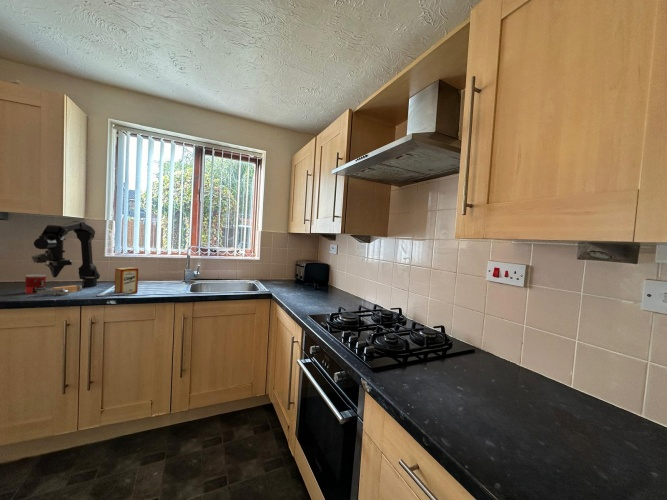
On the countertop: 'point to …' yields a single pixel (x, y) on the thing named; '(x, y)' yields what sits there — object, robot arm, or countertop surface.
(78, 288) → the tool board
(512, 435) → the countertop surface
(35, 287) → the canned food
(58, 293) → the crank handle
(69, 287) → the orange rectangular bar
